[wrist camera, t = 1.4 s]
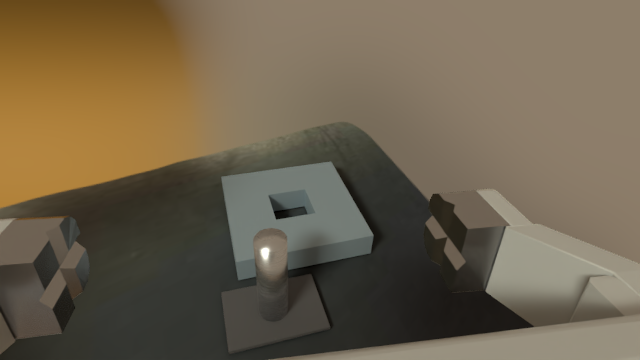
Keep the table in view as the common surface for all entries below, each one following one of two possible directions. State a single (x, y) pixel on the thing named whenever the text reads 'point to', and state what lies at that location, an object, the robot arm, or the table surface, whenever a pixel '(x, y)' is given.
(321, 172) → the grey square hole board
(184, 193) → the table surface
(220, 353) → the table surface
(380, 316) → the table surface
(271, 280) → the steel pin
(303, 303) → the rubber mat
